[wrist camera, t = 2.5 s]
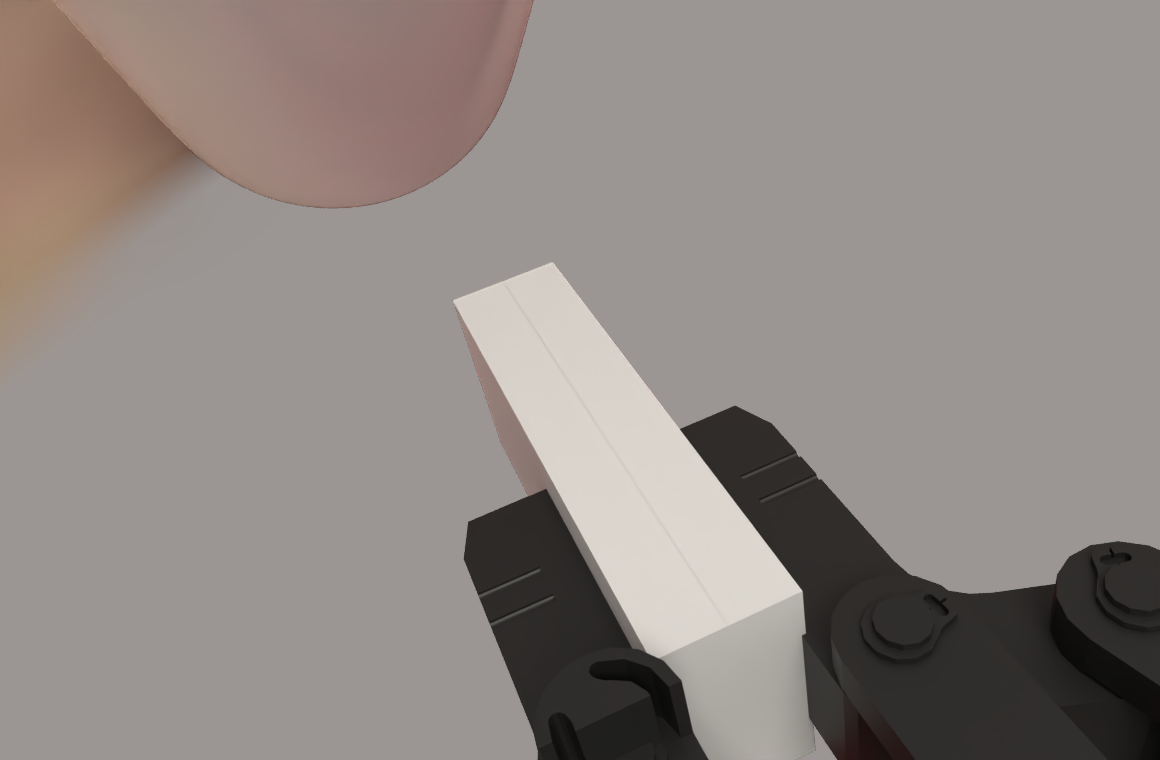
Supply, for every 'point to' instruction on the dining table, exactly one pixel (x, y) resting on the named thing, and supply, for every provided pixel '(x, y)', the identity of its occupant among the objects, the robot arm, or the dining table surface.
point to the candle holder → (315, 85)
